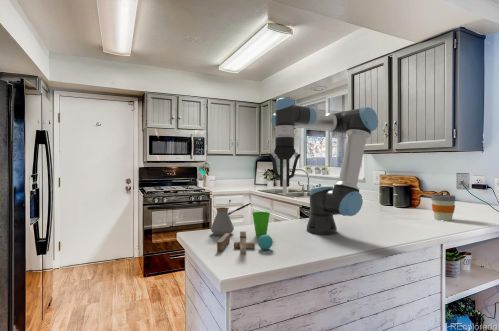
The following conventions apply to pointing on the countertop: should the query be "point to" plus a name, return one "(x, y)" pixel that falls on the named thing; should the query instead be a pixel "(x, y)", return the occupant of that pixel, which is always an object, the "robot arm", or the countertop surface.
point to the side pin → (242, 242)
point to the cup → (261, 222)
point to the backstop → (223, 242)
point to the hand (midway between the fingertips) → (284, 194)
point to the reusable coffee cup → (443, 206)
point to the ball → (265, 242)
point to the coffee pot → (223, 221)
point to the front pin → (248, 245)
